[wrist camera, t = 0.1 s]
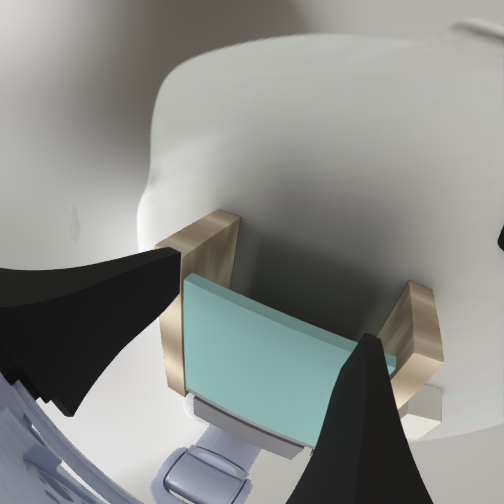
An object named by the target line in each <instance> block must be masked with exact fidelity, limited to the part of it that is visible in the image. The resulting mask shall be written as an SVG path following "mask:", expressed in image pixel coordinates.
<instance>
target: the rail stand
mask: <svg viewBox="0 0 504 504" xmlns="http://www.w3.org/2000/svg"><path fill="white" fill-rule="evenodd" d="M240 218H241V217H238V216H235V215H232V214H229V213H227V212H224V211H221V210H216V211H214V212H212V213H210V214H209V215H207V216H205V217H203V218H201V219H200V220H198V221H196V222H194V223H192V224H191V225H189V226H187V227H185V228H184V229H182V230H180V231H178V232H177V233H175V234H173V235H171V236H170V237H168V238H166V239H164V240H163V241H161V242H159V243H158V244H156V245H155V249H159V248H164V247H171V248H173V249H176V250H178V251H180V252H181V273H180V293H179V295H178V296H177V297H176V298H175V300H174V301H173V302H172V303H171V304H170V305H169V307H168V308H167V309H166V310H165V311H164V312H163V313H162V314H161V315H160V316H159V321H160V331H161V339H162V348H163V356H164V363H165V370H166V376H167V383H168V387H169V388H171V389H172V390H174V391H176V392H177V393H179V394H181V395H182V396H184V397H186V395H187V394H188V393H189V391H187V390H186V389H185V388H186V378H185V355H184V279H185V278H186V277H187V276H189V275H190V274H191V273H194V274H196V275H199V276H201V277H203V278H205V279H207V280H209V281H212V282H214V283H216V284H218V285H220V286H222V287H225V288H227V289H229V290H230V284H231V277H232V270H233V264H234V257H235V250H236V244H237V237H238V231H239V224H240ZM377 338H380V339H381V341H382V345H383V350H384V353H387V354H390V355H393V356H396V368H395V369H394V371H393V372H392V373H391V374H390V375H389V376H390V380H391V385H392V389H393V393H394V397H395V401H396V405H397V409H399V408H400V407H401V406H402V405H403V404H404V403H406V402H407V401H408V400H409V399H410V398H411V397H412V396H413V395H414V394H415V393H416V392H417V391H418V390H419V389H420V388H421V387H422V386H423V385H424V384H425V383H426V382H427V381H428V380H429V379H430V378H431V377H432V376H433V374H434V373H435V372H436V371H437V370H438V369H439V368H440V367H441V366H442V364H443V363H444V358H443V349H442V342H441V335H440V328H439V322H438V317H437V311H436V306H435V301H434V297H433V292H432V290H431V289H429V288H426V287H424V286H421V285H419V284H416V283H414V282H412V281H409V282H408V284H407V285H406V287H405V289H404V291H403V293H402V295H401V296H400V298H399V300H398V302H397V304H396V305H395V307H394V309H393V311H392V312H391V314H390V316H389V317H388V319H387V321H386V322H385V324H384V325H383V327H382V329H381V330H380V332H379V333H378V335H377ZM313 452H314V449H312V451H311V454H310V456H312V454H313Z"/></svg>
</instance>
